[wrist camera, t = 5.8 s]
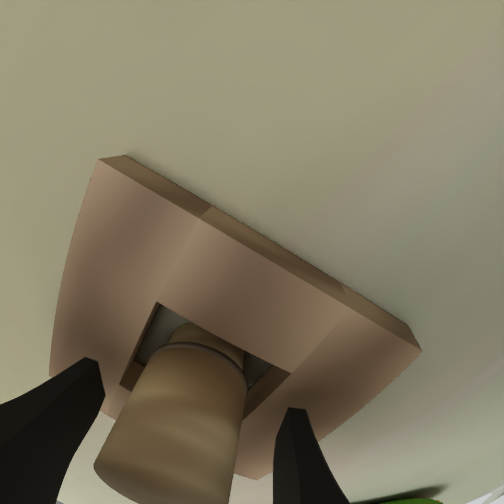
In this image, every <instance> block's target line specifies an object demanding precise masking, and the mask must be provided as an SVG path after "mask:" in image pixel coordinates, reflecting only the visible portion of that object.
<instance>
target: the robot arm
mask: <svg viewBox="0 0 504 504" xmlns="http://www.w3.org/2000/svg"><path fill="white" fill-rule="evenodd" d="M105 397H106V394H105V390H104V386H103V382H102V377H101V373H100V368H99V363H98V361H95V360H93V359H90V358H87V357H84V358H82V359H81V360H79V361H78V362H76V363H75V364H73V365H71V366H70V367H68V368H67V369H65V370H64V371H62V372H61V373H59V374H58V375H56V376H54V377H53V378H51V379H49V380H48V381H46V382H45V383H43V384H41V385H40V386H38V387H36V388H34V389H32V390H31V391H29V392H27V393H25V394H23V395H21V396H19V397H17V398H15V399H13V400H10V401H8V402H5V403H3V404H0V504H56V500H57V497H58V493H59V490H60V488H61V485H62V482H63V479H64V476H65V474H66V471H67V469H68V466H69V464H70V462H71V460H72V458H73V456H74V454H75V452H76V451H77V449H78V447H79V445H80V444H81V442H82V440H83V439H84V437H85V435H86V434H87V432H88V431H89V429H90V427H91V425H92V424H93V422H94V420H95V419H96V417H97V415H98V413H99V411H100V408H101V406H102V404H103V401H104V399H105ZM273 504H350V502H349V501H348V499H347V498H346V496H345V495H344V493H343V492H342V490H341V489H340V487H339V485H338V483H337V482H336V480H335V478H334V476H333V474H332V472H331V471H330V469H329V467H328V465H327V463H326V460H325V458H324V456H323V454H322V451H321V449H320V447H319V444H318V442H317V439H316V437H315V434H314V432H313V429H312V426H311V423H310V420H309V417H308V413H307V411H306V410H305V409H300V408H291V407H288V409H287V411H286V414H285V416H284V419H283V421H282V424H281V426H280V429H279V431H278V433H277V436H276V440H275V448H274V457H273Z"/></svg>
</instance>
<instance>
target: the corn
mask: <svg viewBox="0 0 504 504" xmlns="http://www.w3.org/2000/svg"><path fill="white" fill-rule="evenodd" d="M378 504H443V503H441V502H440V501H438V500H433V499H425V498H410V499H398V500H393V501H388V502H383V503H378Z"/></svg>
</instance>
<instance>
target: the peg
mask: <svg viewBox="0 0 504 504" xmlns="http://www.w3.org/2000/svg"><path fill="white" fill-rule="evenodd" d="M243 365H244V351H243V349H241V348H239V347H237V346H235V345H233V344H231V343H229V342H227V341H225V340H224V339H222V338H220V337H218V336H216V335H214V334H212V333H211V332H209V331H207V330H205V329H203V328H202V327H200V326H198V325H196V324H194V323H193V322H192V323H187V324H184V325H182V326H180V327H179V328H177V329H176V330H175V331H174V332H173V333H172V335H171V337H170V339H169V341H168V343H167V344H165V345H163V346H161V347H159V348H158V349H156V350H155V351H154V352H153V353H152V355H151V356H150V358H149V360H148V362H147V364H146V367H145V369H144V371H143V372H142V374H141V376H140V378H139V380H138V381H137V383H136V385H135V387H134V389H133V390H132V392H131V394H130V396H129V398H128V400H127V401H126V403H125V405H124V407H123V409H122V411H121V413H120V414H119V416H118V418H117V420H116V422H115V424H114V426H113V428H112V430H111V431H110V433H109V435H108V437H107V439H106V441H105V443H104V445H103V447H102V449H101V451H100V453H99V455H98V457H97V458H96V460H95V462H94V470H95V472H96V473H97V475H98V476H99V477H100V478H101V479H102V480H103V481H104V482H105V483H106V484H107V485H108V486H110V487H111V488H112V489H114V490H115V491H117V492H118V493H120V494H121V495H123V496H125V497H127V498H128V499H130V500H132V501H134V502H137V503H139V504H228V503H229V497H230V491H231V485H232V479H233V473H234V467H235V461H236V455H237V449H238V443H239V437H240V431H241V424H242V418H243V412H244V405H245V400H246V397H247V391H248V383H247V379H246V376H245V374H244V373H243Z"/></svg>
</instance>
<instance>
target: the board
mask: <svg viewBox="0 0 504 504" xmlns="http://www.w3.org/2000/svg"><path fill="white" fill-rule="evenodd" d="M160 304H162V305H163V306H165V307H167V308H168V309H170V310H172V311H174V312H175V313H177V314H179V315H180V316H182V317H184V318H186V319H187V320H189V321H191V322H193V323H194V324H196V325H198V326H200V327H202V328H203V329H205V330H207V331H209V332H211V333H212V334H214V335H216V336H218V337H220V338H222V339H224V340H225V341H227V342H229V343H231V344H233V345H235V346H237V347H239V348H241V349H243V350H245V351H247V352H249V353H251V354H253V355H255V356H257V357H259V358H261V359H263V360H265V361H267V362H269V363H271V364H273V365H272V366H271V367H270V368H269V369H268V370H267V371H266V373H265V374H264V375H263V376H262V377H261V378H260V379H259V380H258V381H257V382H256V383H255V384H254V385H253V387H252V388H251V389H250V390H249V391H248V392H247V397H246V400H245V405H244V412H243V418H242V424H241V431H240V437H239V443H238V449H237V455H236V461H235V467H234V473H235V474H238V475H241V476H244V477H247V478H251V479H254V480H258V479H260V478H262V477H263V476H265V475H267V474H269V473H270V472H272V471H273V457H274V448H275V440H276V436H277V433H278V431H279V429H280V426H281V424H282V421H283V419H284V416H285V414H286V411H287V409H288V407H291V408H300V409H305V410H306V411H307V413H308V417H309V420H310V423H311V426H312V429H313V432H314V434H315V437H316V439H317V442H318V441H320V440H321V439H322V438H324V437H325V436H327V435H328V434H329V433H331V432H332V431H333V430H335V429H336V428H337V427H339V426H340V425H341V424H343V423H344V422H345V421H346V420H348V419H349V418H350V417H351V416H353V415H354V414H355V413H356V412H358V411H359V410H360V409H361V408H362V407H364V406H365V405H366V404H367V403H368V402H369V401H371V400H372V399H373V398H374V397H375V396H376V395H377V394H379V393H380V392H381V391H382V390H383V389H384V388H385V387H386V386H387V385H389V384H390V383H391V382H392V381H393V380H394V379H395V378H396V377H397V376H398V375H399V374H400V373H401V372H402V371H403V370H404V369H405V368H406V367H407V366H408V365H409V364H410V363H411V362H412V361H413V360H414V359H415V358H416V357H417V356H418V355H419V354H420V353H421V352H422V349H421V348H420V346H419V344H418V342H417V340H416V339H415V337H414V335H413V333H412V332H411V330H410V328H409V327H408V325H407V324H405V323H403V322H402V321H400V320H399V319H397V318H396V317H394V316H392V315H391V314H389V313H388V312H386V311H385V310H383V309H381V308H380V307H378V306H377V305H375V304H373V303H372V302H370V301H369V300H367V299H365V298H364V297H362V296H361V295H359V294H358V293H356V292H354V291H353V290H351V289H349V288H348V287H346V286H345V285H343V284H341V283H340V282H338V281H337V280H335V279H333V278H332V277H330V276H329V275H327V274H325V273H324V272H322V271H320V270H319V269H317V268H316V267H314V266H312V265H311V264H309V263H307V262H306V261H304V260H302V259H301V258H299V257H298V256H296V255H294V254H293V253H291V252H289V251H288V250H286V249H284V248H283V247H281V246H279V245H278V244H276V243H274V242H273V241H271V240H269V239H268V238H266V237H264V236H263V235H261V234H259V233H258V232H256V231H254V230H253V229H251V228H249V227H248V226H246V225H244V224H243V223H241V222H239V221H238V220H236V219H234V218H233V217H231V216H229V215H227V214H226V213H224V212H222V211H221V210H219V209H217V208H216V207H214V206H212V205H210V204H209V203H207V202H205V201H204V200H202V199H200V198H199V197H197V196H195V195H193V194H192V193H190V192H188V191H187V190H185V189H183V188H181V187H180V186H178V185H176V184H174V183H173V182H171V181H169V180H167V179H166V178H164V177H162V176H161V175H159V174H157V173H155V172H154V171H152V170H150V169H148V168H147V167H145V166H143V165H141V164H139V163H138V162H136V161H134V160H132V159H131V158H129V157H127V156H125V155H122V156H115V157H109V158H102V159H98V161H97V163H96V166H95V169H94V171H93V174H92V177H91V179H90V182H89V185H88V188H87V191H86V194H85V197H84V200H83V203H82V206H81V209H80V212H79V215H78V219H77V222H76V225H75V229H74V232H73V236H72V240H71V243H70V247H69V251H68V255H67V259H66V264H65V268H64V272H63V277H62V282H61V287H60V292H59V297H58V303H57V309H56V315H55V322H54V329H53V336H52V345H51V355H50V366H49V376H50V377H52V378H53V377H54V376H56V375H58V374H59V373H61V372H62V371H64V370H65V369H67V368H68V367H70V366H71V365H73V364H75V363H76V362H78V361H79V360H81V359H82V358H84V357H87V358H90V359H93V360H95V361H98V363H99V368H100V373H101V377H102V382H103V386H104V390H105V394H106V397H105V399H104V401H103V404H102V406H101V408H100V411H101V412H103V413H105V414H106V415H108V416H110V417H111V418H113V419H115V420H117V418H118V416H119V414H120V413H121V411H122V409H123V407H124V405H125V403H126V401H127V400H128V398H129V396H130V394H131V392H132V390H133V389H134V387H135V385H136V383H137V381H138V380H139V378H140V376H141V374H142V372H143V371H144V369H145V367H144V366H142V365H140V364H138V363H137V362H135V361H134V358H135V356H136V354H137V352H138V350H139V348H140V345H141V343H142V341H143V339H144V337H145V335H146V333H147V331H148V329H149V326H150V324H151V322H152V320H153V318H154V316H155V314H156V312H157V310H158V308H159V306H160Z"/></svg>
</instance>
